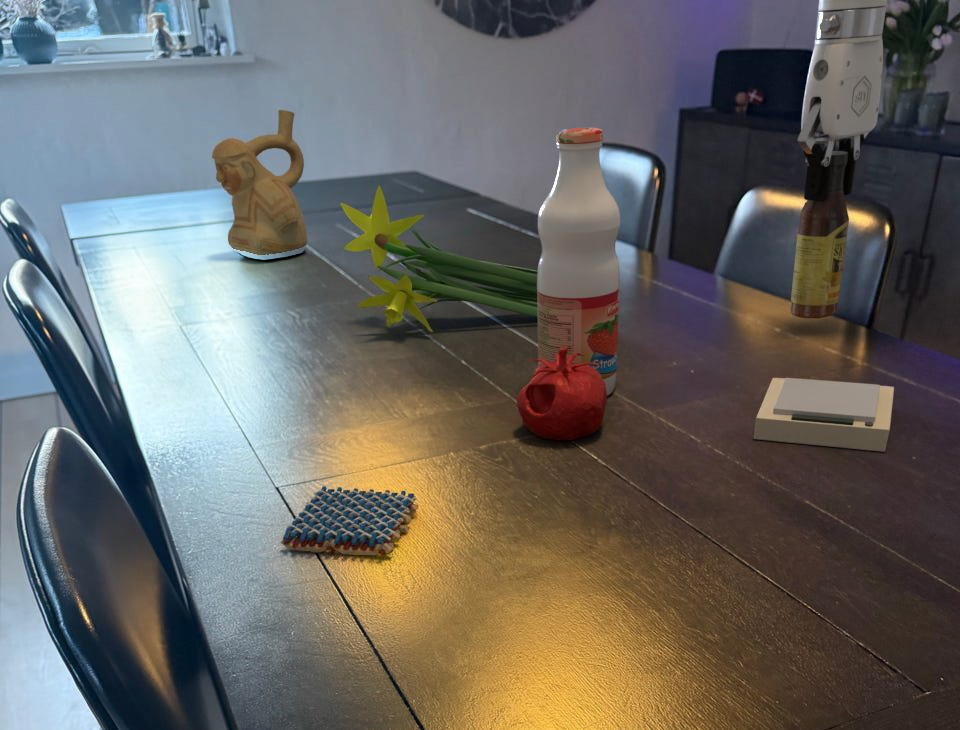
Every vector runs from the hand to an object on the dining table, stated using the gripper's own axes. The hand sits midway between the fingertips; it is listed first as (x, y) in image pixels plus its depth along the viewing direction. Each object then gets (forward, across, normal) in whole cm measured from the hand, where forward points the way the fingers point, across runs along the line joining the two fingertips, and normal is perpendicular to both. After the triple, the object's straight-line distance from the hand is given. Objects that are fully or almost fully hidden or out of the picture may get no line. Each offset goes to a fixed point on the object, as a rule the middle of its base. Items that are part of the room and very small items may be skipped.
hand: (827, 195), depth 119 cm
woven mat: (+17, -79, -6) cm, 81 cm away
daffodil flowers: (+16, -30, +40) cm, 53 cm away
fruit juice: (+17, -39, +6) cm, 43 cm away
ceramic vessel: (+15, -25, +108) cm, 112 cm away
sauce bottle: (+15, 0, 0) cm, 15 cm away
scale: (+17, -28, -21) cm, 39 cm away
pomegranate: (+17, -49, -2) cm, 52 cm away
